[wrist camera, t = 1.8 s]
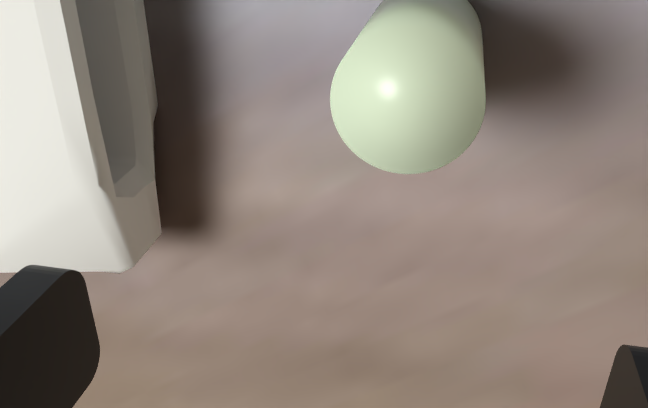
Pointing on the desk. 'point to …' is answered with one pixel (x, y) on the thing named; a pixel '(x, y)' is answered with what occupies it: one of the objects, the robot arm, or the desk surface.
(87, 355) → the robot arm
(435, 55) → the mint green capsule
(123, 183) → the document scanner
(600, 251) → the desk surface
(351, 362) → the desk surface
